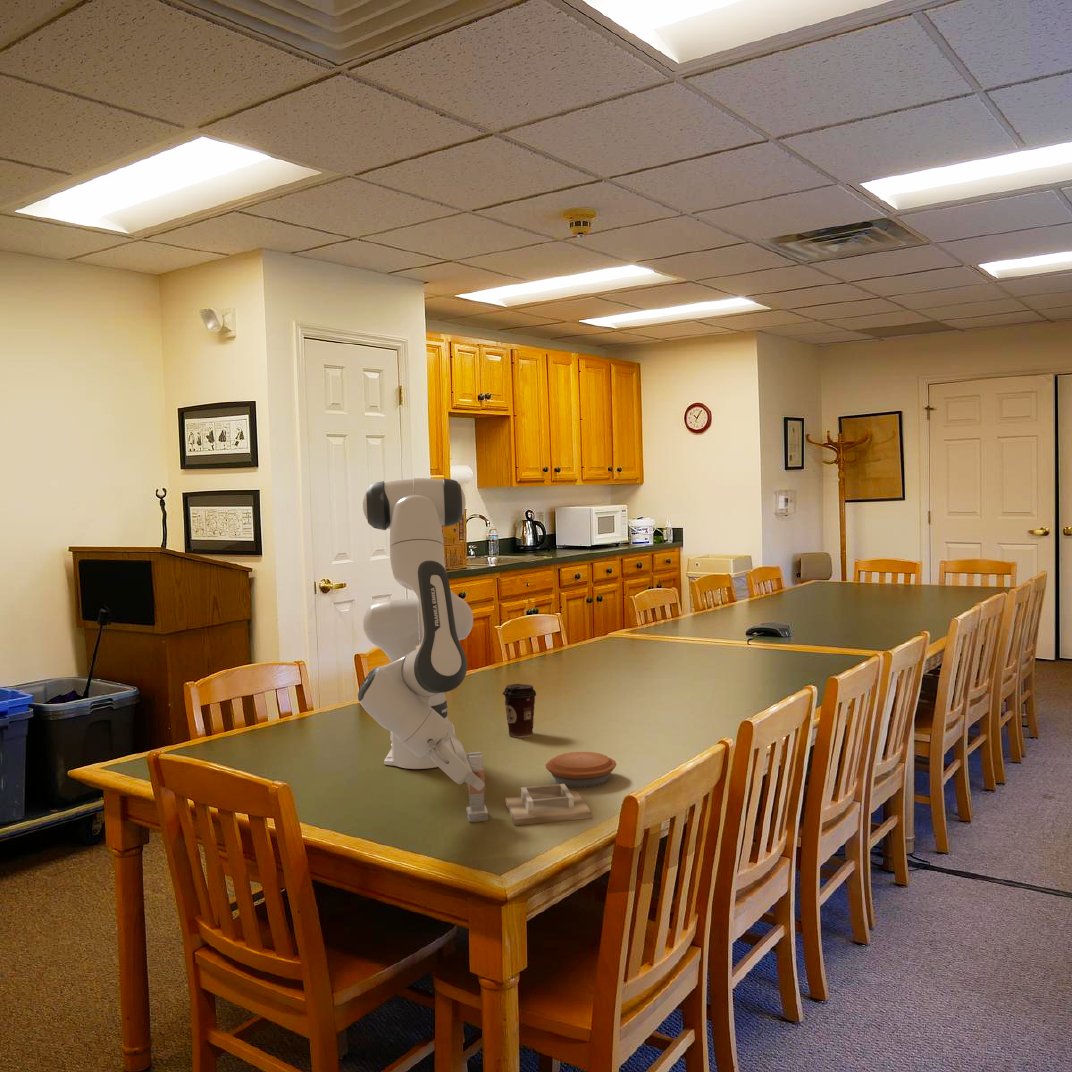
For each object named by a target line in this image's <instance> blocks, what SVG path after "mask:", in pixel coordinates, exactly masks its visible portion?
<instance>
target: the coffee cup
mask: <svg viewBox="0 0 1072 1072" xmlns="http://www.w3.org/2000/svg"><path fill="white" fill-rule="evenodd" d="M502 695H503V696H504V698H505V701H504V707H505V714H506V722H507V726H508V735H509V736H510V737H513V738H522V739H523V738H530V737H532V736H534V732H533V729H534V719H535V718H534V715H535V704H536V696H537V691H536V690H535V689H534V686H533V685H530V684H524V683H512V684H507V685H506V686H505V688H504V690H503V692H502Z"/></svg>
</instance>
